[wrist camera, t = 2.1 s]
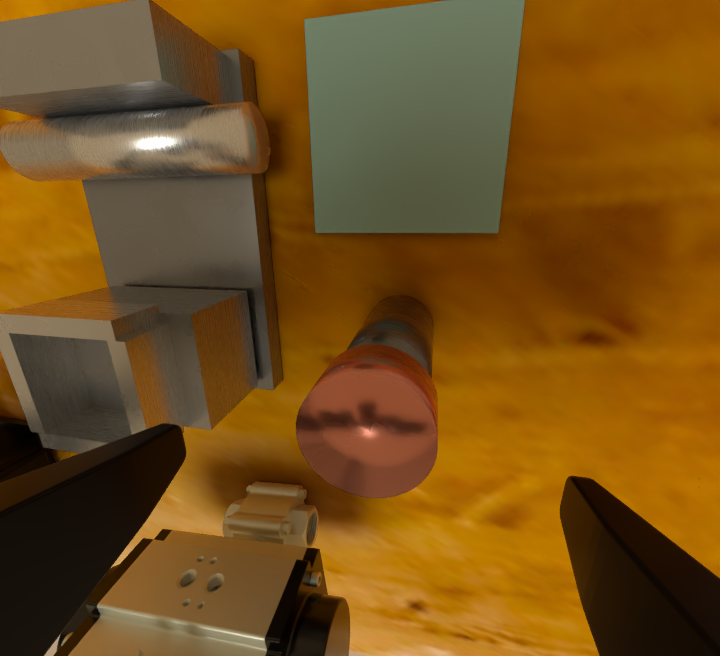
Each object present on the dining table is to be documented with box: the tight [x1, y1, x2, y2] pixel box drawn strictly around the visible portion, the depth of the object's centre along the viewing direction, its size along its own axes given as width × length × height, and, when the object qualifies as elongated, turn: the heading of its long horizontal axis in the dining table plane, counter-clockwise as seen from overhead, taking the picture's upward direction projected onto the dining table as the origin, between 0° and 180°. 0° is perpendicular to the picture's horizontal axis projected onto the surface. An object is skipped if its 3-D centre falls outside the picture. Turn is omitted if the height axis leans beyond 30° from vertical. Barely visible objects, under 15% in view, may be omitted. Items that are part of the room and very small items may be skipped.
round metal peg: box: [296, 295, 438, 498], centre depth 13 cm, size 4×4×9 cm
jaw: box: [0, 286, 258, 453], centre depth 15 cm, size 6×8×6 cm
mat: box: [304, 0, 525, 233], centre depth 14 cm, size 8×8×1 cm
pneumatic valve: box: [54, 481, 350, 656], centre depth 17 cm, size 6×12×12 cm, turn 96°
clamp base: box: [0, 0, 283, 390], centre depth 15 cm, size 15×11×5 cm
